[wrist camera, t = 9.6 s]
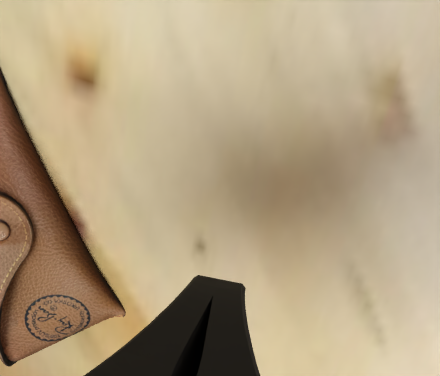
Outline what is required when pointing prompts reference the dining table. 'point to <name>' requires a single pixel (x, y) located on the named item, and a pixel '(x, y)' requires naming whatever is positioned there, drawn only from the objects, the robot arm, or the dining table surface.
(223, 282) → the robot arm
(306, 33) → the dining table surface
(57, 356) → the dining table surface
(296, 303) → the dining table surface
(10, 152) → the sunglasses case
